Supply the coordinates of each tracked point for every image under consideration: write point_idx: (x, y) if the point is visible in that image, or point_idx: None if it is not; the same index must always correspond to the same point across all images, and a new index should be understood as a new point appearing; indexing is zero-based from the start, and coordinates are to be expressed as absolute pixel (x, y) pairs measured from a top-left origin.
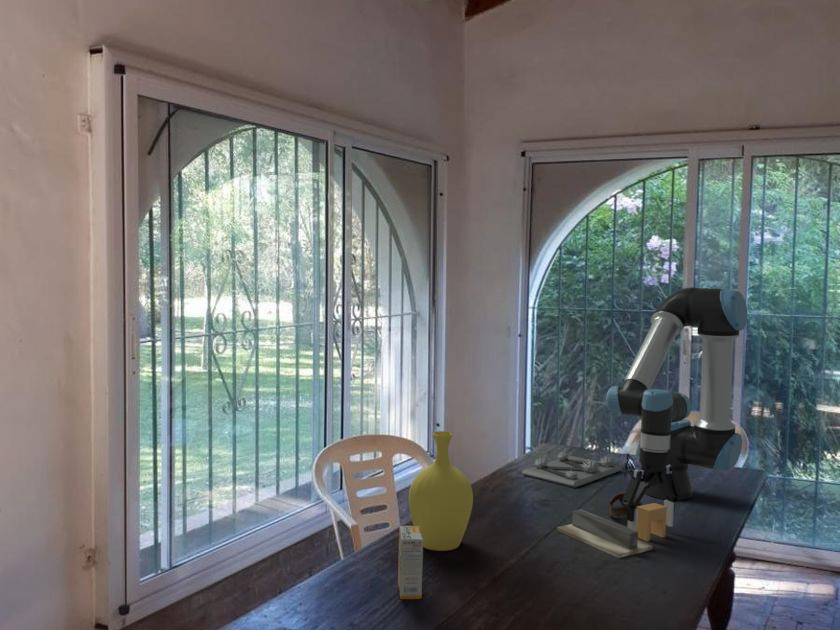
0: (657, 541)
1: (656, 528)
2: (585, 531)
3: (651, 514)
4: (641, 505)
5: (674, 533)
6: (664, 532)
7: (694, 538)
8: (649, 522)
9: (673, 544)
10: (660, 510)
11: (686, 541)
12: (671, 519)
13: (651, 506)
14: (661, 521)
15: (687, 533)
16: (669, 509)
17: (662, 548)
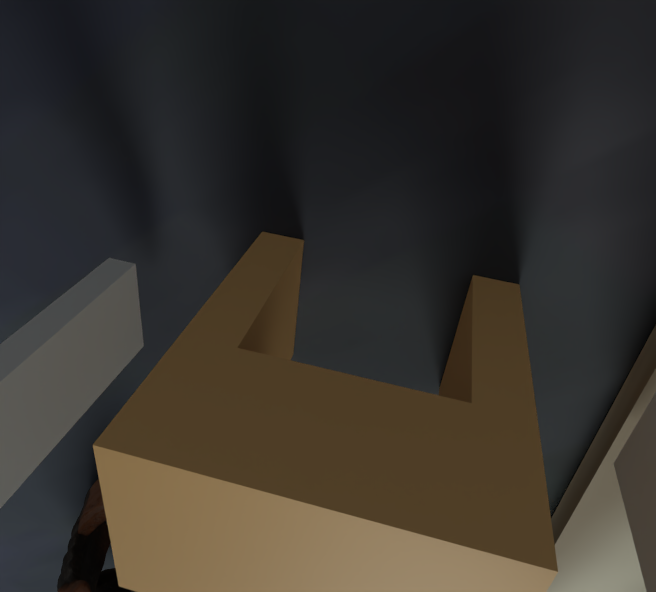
0: (440, 215)
1: (279, 335)
2: None
3: (467, 482)
4: (77, 577)
5: (120, 220)
6: (261, 253)
7: (38, 17)
8: (502, 404)
9: (386, 54)
10: (251, 455)
11: (181, 16)
12: (85, 302)
13: (293, 584)
14: (249, 342)
15: (12, 145)
16: (18, 401)
17: (626, 58)
